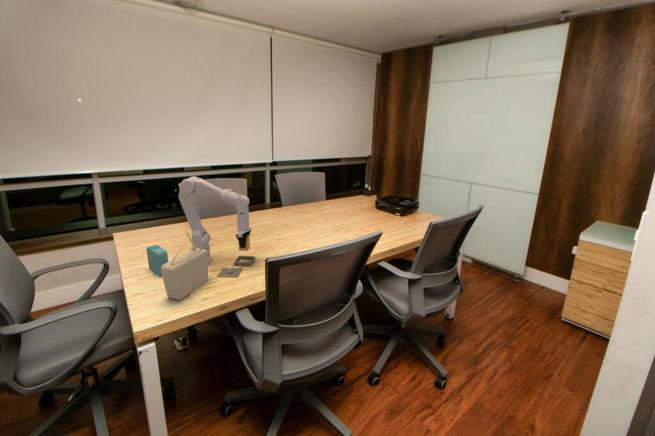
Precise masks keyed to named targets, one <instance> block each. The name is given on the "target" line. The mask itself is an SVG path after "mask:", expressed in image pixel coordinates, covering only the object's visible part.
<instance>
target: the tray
mask: <svg viewBox="0 0 655 436" xmlns="http://www.w3.org/2000/svg"><path fill="white" fill-rule="evenodd" d="M240 260H248V261H250V260H251V261H250V262H245V261H244V262H240ZM255 261H256V256H254V255H253V256H251V255H238V256H237V258H236V259H235V260H234V261H233V266H234V267H253V265H254V263H255Z"/></svg>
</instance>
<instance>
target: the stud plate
mask: <svg viewBox="0 0 655 436" xmlns="http://www.w3.org/2000/svg"><path fill="white" fill-rule="evenodd" d="M243 269H244V268H240V267H239V268H238V267H237V268H236V267H233V265H227V267H222V268H221V269H220V271H219V272H218V274H217V275H216V278H227V279H228V278H229V279H230V278H232V279H233V278H235V279H239V276H240V275H241V273H242V272H243Z"/></svg>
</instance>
